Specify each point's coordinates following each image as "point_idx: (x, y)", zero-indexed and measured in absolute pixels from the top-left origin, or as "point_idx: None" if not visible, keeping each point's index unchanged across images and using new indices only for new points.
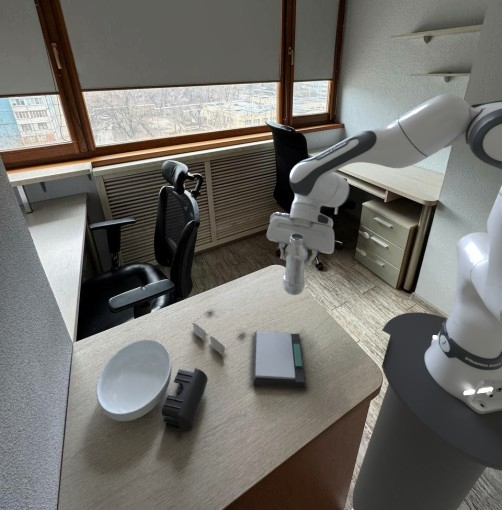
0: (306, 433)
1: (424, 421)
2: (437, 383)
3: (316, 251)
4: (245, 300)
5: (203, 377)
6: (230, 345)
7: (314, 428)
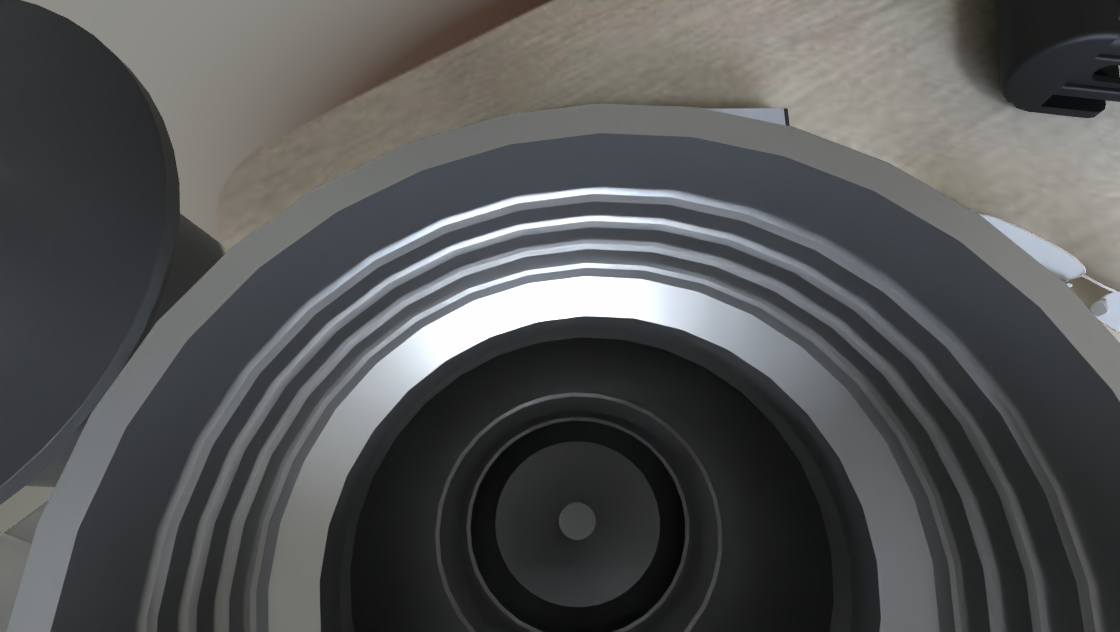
0: (565, 6)
1: (125, 77)
2: None
3: (32, 523)
4: None
5: (1048, 28)
6: None
7: (534, 20)
